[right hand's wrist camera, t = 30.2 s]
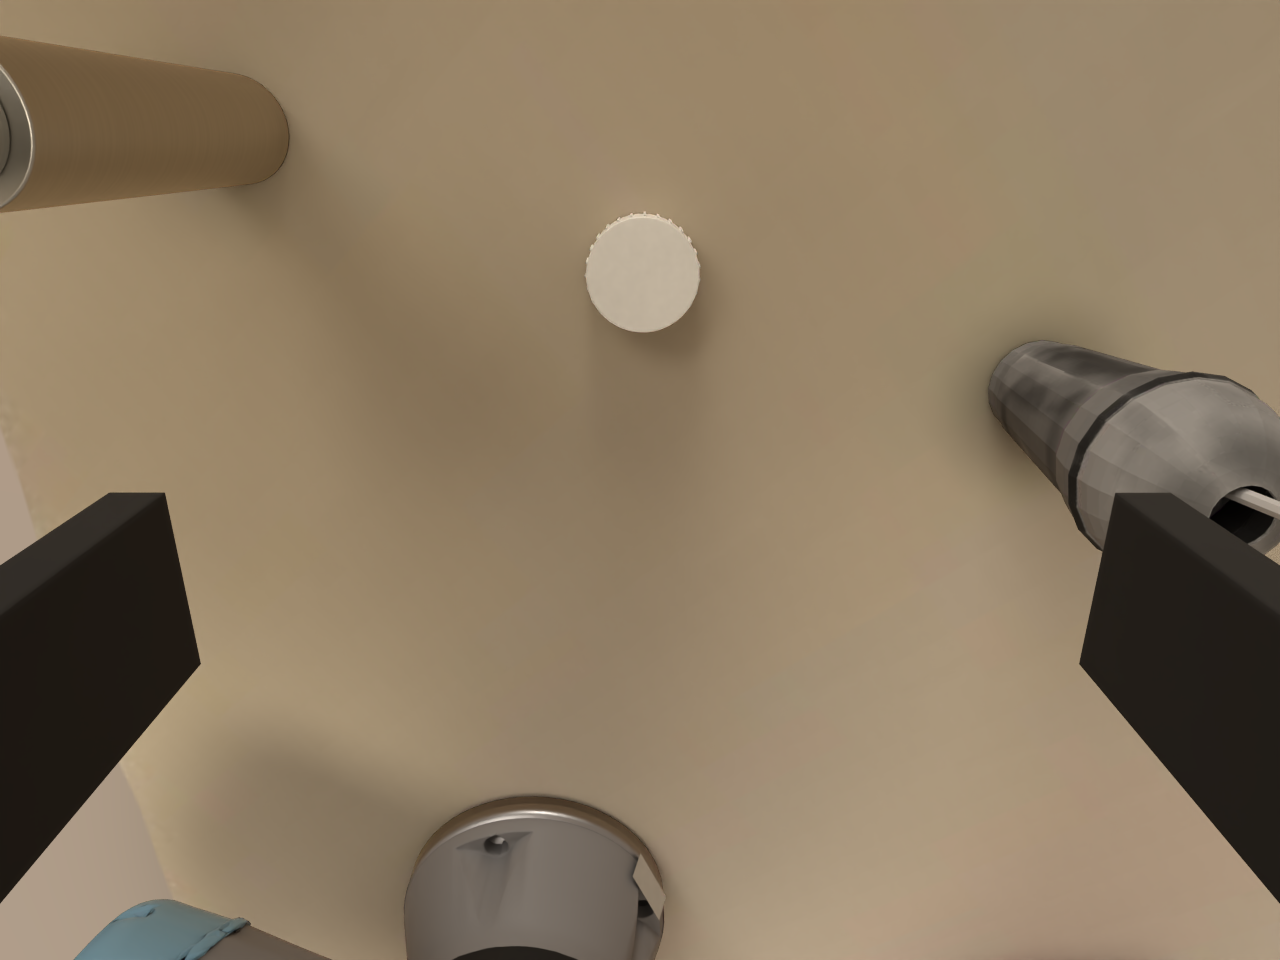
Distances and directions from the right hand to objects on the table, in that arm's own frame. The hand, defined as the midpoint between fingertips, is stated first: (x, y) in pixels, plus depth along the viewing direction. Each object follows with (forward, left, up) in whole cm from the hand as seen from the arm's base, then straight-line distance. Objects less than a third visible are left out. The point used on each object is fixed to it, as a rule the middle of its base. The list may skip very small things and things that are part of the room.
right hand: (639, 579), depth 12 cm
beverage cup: (+5, -19, -30) cm, 36 cm away
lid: (0, 0, -28) cm, 28 cm away
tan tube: (-3, +18, -30) cm, 35 cm away
